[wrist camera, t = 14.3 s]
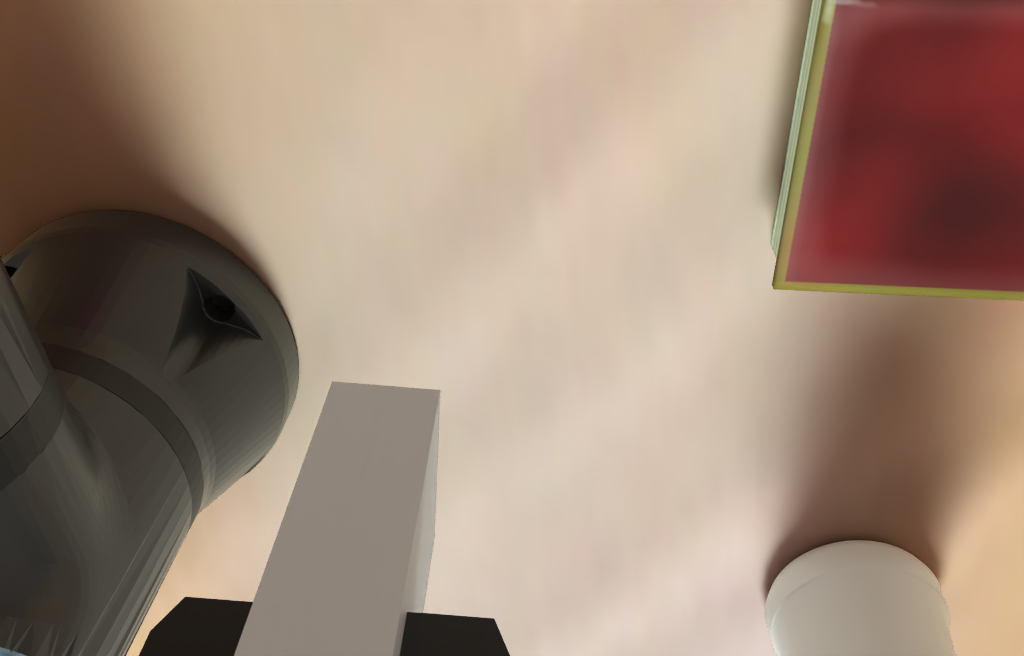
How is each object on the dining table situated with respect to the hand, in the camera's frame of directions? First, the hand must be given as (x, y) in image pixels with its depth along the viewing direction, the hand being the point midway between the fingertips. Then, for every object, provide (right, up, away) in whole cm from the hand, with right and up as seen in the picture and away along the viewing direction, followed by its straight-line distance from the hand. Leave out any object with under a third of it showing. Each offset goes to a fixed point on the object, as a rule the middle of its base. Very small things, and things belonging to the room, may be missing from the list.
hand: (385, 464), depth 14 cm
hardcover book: (+23, +10, +25) cm, 36 cm away
